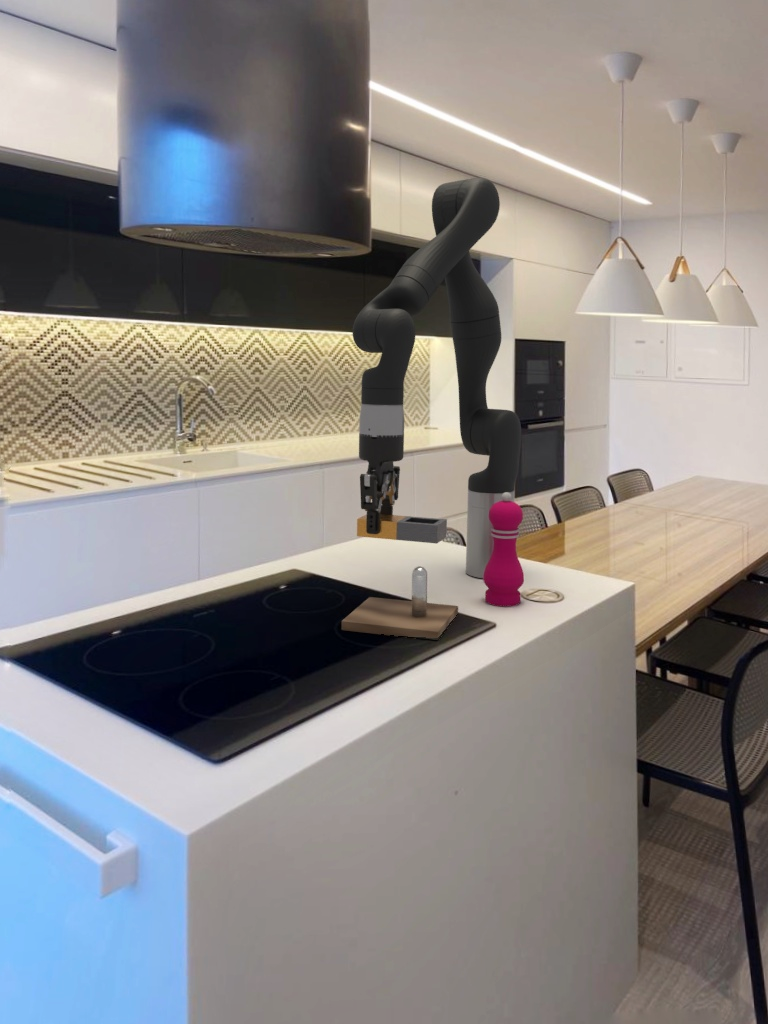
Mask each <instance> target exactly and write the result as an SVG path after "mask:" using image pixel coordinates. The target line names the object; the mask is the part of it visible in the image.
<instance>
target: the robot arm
mask: <svg viewBox="0 0 768 1024" xmlns="http://www.w3.org/2000/svg"><path fill="white" fill-rule="evenodd" d="M500 205H501V202H500V196H499V192H498V190H497V188H496V185H495V184H494V183H493V182H492V181H491V180H489V179H487V178H483V177H472V178H466V179H461V180H456V181H450V182H445V183H442V184H440V185H438V186H437V188H436V189H435V190H434V192H433V194H432V200H431V215H432V223H433V227H434V233H435V237H433V238H432V239H431V240H430V241H428V242H426V243H425V244H424V245H423V246H421V247H420V248H419V249H418V250H416V251H415V252H414V253H413V254H412V255H410V257H409V258H407V260H406V261H405V262H404V264H402V266H401V267H400V269H399V270H398V272H397V273H396V275H395V276H394V278H393V279H392V281H391V282H390V284H389V285H388V286H387V287H386V288H385V289H383V290H382V291H380V293H378V294H377V295H376V296H375V297H373V299H372V300H370V301H369V302H368V303H367V304H366V305H365V306H364V307H363V308H362V309H361V310H360V311H359V313H358V314H357V316H356V318H355V320H354V323H353V326H352V339H353V342H354V344H355V345H356V347H357V348H358V349H360V350H361V351H363V352H366V353H368V354H369V353H371V354H381V356H380V359H379V362H378V364H377V365H376V366H374V367H371V368H368V369H365V370H364V372H363V374H362V376H361V394H360V395H361V397H360V398H361V401H360V403H361V405H360V411H359V413H360V414H359V424H358V425H359V427H358V429H359V430H358V433H359V434H358V459H360V460H361V461H366V462H367V463H368V466H367V471H366V473H361V474H360V476H359V487H360V490H359V491H360V509H361V510H364V511H365V512H366V514H367V523H366V532H367V533H368V534H378V533H380V514H384V515H394V514H393V511H394V505H395V503H396V501H398V498H399V484H400V473H401V472H400V471H401V468H400V466H399V465H398V466H397V465H394V462H400V461H402V460H403V459H404V447H405V445H404V444H405V443H404V442H405V411H404V396H405V395H404V393H405V392H404V391H405V389H404V388H405V385H404V383H405V382H404V381H405V377H406V374H407V371H408V367H409V364H410V360H411V356H412V353H413V350H414V346H415V342H416V326H415V322H414V320H413V318H414V317H416V316H418V315H420V314H421V313H422V312H423V310H425V309H426V306H427V305H428V304H429V302H430V300H431V299H432V297H433V296H434V295H435V293H436V291H437V290H438V288H439V287H440V285H441V284H442V283H443V281H444V280H445V286H446V293H447V300H448V308H449V321H450V328H451V329H450V330H451V335H452V336H451V338H452V343H453V350H454V354H455V363H456V364H455V365H456V376H457V383H458V385H457V386H458V407H459V408H458V410H459V411H458V412H459V416H458V417H459V431H460V438H461V442H462V445H463V446H464V449H465V450H466V451H468V453H470V454H473V455H478V456H480V455H481V456H488V463H487V466H486V468H484V469H483V470H481V471H478V472H474V473H472V474H470V475H469V476H468V482H467V514H466V516H467V518H466V520H467V521H466V551H465V552H466V554H465V573H466V575H469V577H470V576H471V577H474V578H478V579H483V577H484V571H485V568H486V566H487V564H488V562H489V560H490V558H491V555H492V552H493V546H494V540H493V536H491V533H492V530H491V528H492V527H493V525H492V523H491V522H490V520H489V511H490V508H491V507H492V505H494V504H495V503H497V502H499V501H503V500H502V498H501V496H502V494H503V493H505V492H508V493H510V494H511V497H512V498H511V500H510V501H512V502H515V489H516V488H515V486H516V481H517V478H518V474H519V470H520V469H519V468H520V467H519V466H520V457H521V455H520V454H521V445H522V444H521V443H522V426H521V420H520V418H519V415H518V414H517V413H516V412H515V411H513V410H509V409H502V408H501V409H497V408H488V401H487V380H488V377H489V373H490V370H491V369H492V366H493V364H494V363H495V360H496V359H497V358H496V357H497V356H498V353H499V351H500V347H501V344H502V327H501V320H500V319H501V318H500V311H499V306H498V305H499V304H498V301H497V299H496V298H495V296H494V294H493V292H492V291H491V289H490V287H489V286H488V284H486V281H485V280H484V278H482V276H481V275H480V273H479V272H478V270H477V269H476V267H475V265H474V262H473V260H472V256H471V253H470V250H471V249H472V248H473V247H474V246H475V245H476V244H477V243H478V242H479V240H481V239H482V238H483V237H484V236H485V235H486V234H487V233H488V232H489V230H490V229H492V227H493V226H494V224H495V223H496V221H497V220H498V217H499V214H500V213H499V212H500V207H501V206H500Z"/></svg>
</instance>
